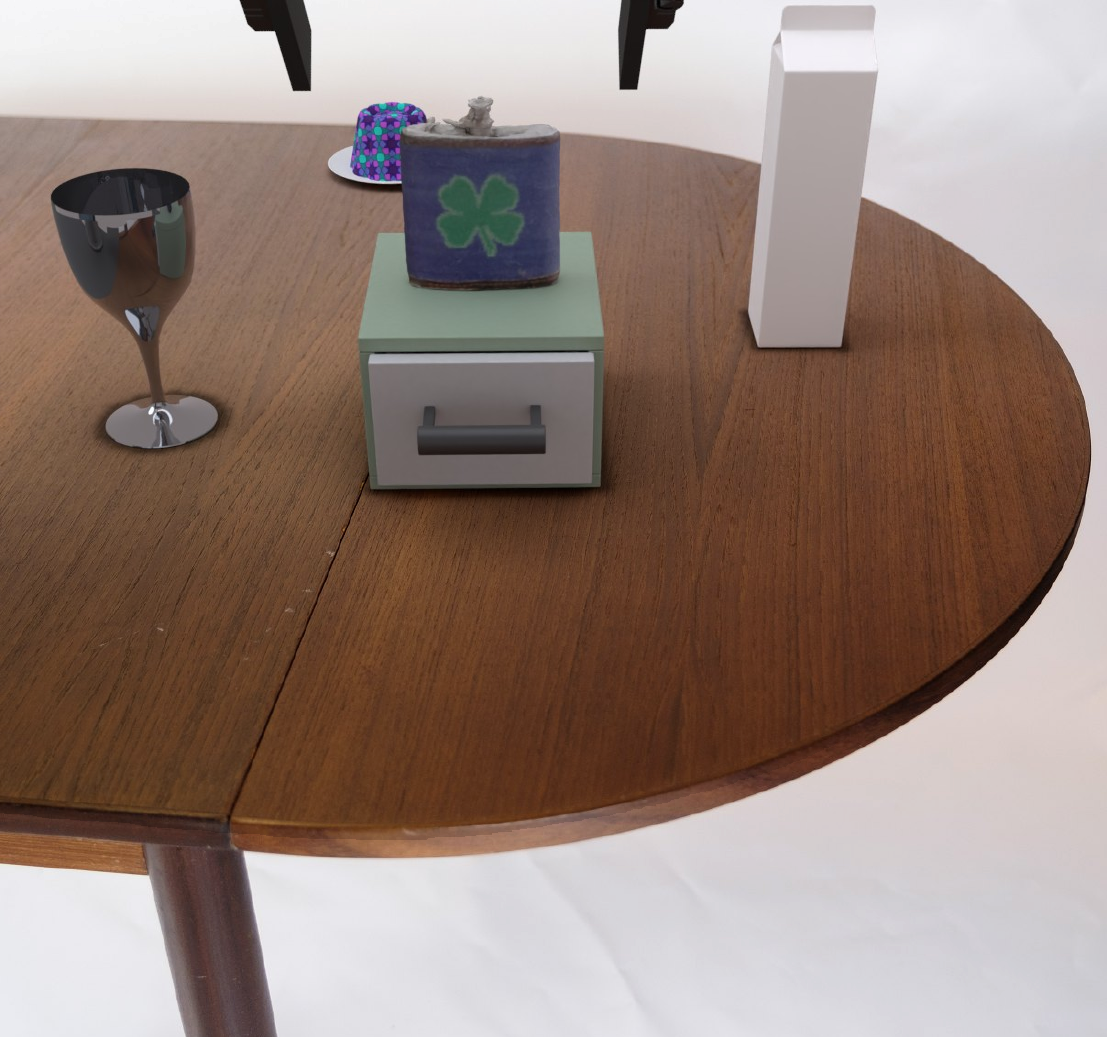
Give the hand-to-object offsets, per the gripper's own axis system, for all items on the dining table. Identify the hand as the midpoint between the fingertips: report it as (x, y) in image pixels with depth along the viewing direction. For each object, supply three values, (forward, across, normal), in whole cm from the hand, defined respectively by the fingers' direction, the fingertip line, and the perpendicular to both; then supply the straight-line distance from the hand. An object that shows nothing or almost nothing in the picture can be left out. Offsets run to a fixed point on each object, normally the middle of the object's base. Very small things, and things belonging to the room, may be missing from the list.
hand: (465, 60), depth 60 cm
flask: (+27, 0, +1) cm, 27 cm away
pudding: (+68, -9, +29) cm, 75 cm away
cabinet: (+34, 0, -6) cm, 34 cm away
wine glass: (+34, -21, -5) cm, 41 cm away
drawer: (+30, 0, -8) cm, 31 cm away
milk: (+44, +22, +4) cm, 49 cm away
